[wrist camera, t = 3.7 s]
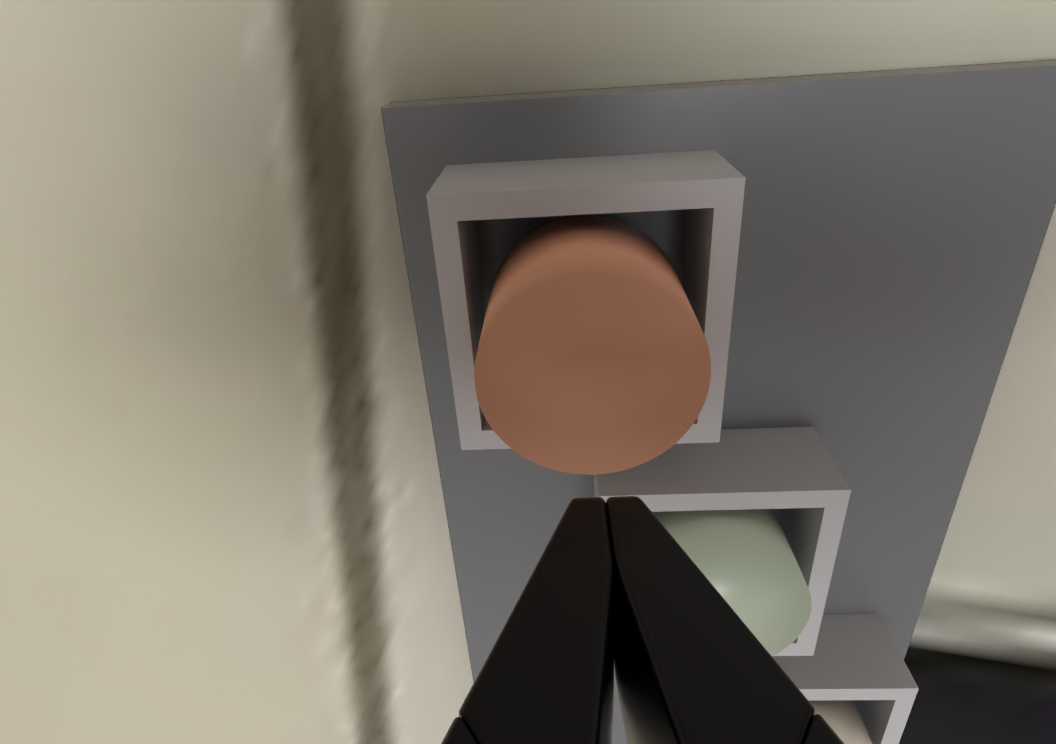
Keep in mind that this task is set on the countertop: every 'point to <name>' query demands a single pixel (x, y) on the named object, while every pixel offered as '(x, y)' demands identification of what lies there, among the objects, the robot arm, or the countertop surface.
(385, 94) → the countertop surface
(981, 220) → the panel
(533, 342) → the terracotta button
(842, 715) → the cream button
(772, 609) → the sage button
